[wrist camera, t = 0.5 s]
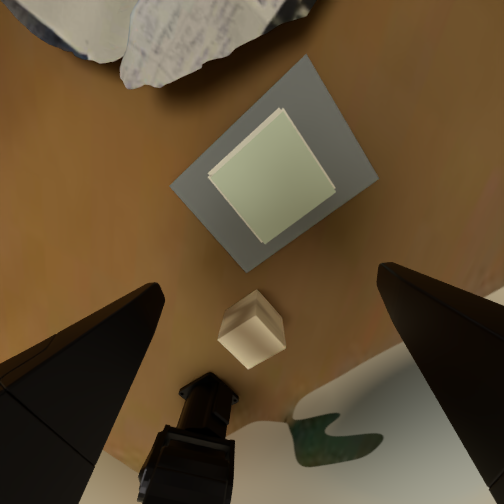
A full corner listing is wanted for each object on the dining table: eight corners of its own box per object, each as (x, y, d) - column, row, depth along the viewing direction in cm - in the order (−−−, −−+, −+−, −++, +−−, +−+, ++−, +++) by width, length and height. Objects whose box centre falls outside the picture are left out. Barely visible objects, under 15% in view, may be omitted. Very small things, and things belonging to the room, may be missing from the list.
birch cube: (250, 336, 28) (248, 369, 23) (225, 310, 26) (217, 339, 22) (282, 316, 26) (286, 348, 22) (257, 288, 25) (255, 315, 21)
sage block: (264, 232, 22) (264, 244, 18) (219, 176, 20) (210, 177, 17) (322, 188, 20) (336, 192, 17) (279, 123, 19) (283, 111, 15)
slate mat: (246, 271, 24) (246, 273, 24) (170, 185, 21) (168, 185, 21) (377, 178, 20) (379, 178, 20) (305, 56, 17) (306, 53, 17)
